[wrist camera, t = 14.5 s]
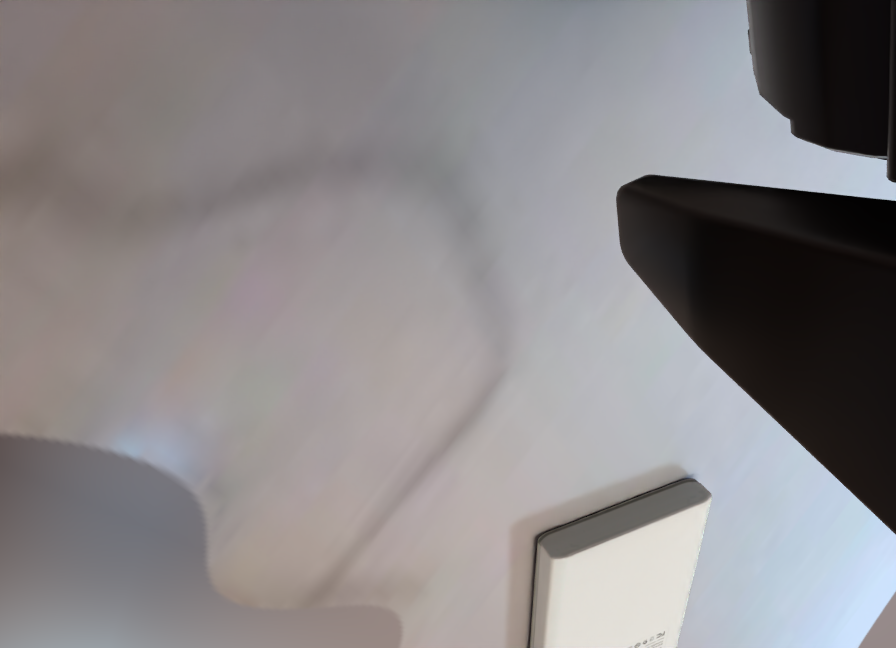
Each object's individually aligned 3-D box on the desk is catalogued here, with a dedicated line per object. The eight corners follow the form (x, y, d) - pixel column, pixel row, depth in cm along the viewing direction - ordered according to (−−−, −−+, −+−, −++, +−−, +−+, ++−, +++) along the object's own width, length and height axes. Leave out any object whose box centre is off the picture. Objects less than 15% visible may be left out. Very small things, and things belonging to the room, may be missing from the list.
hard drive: (692, 474, 38) (656, 647, 45) (533, 535, 35) (521, 710, 42) (716, 497, 37) (676, 672, 43) (553, 562, 34) (538, 739, 41)
